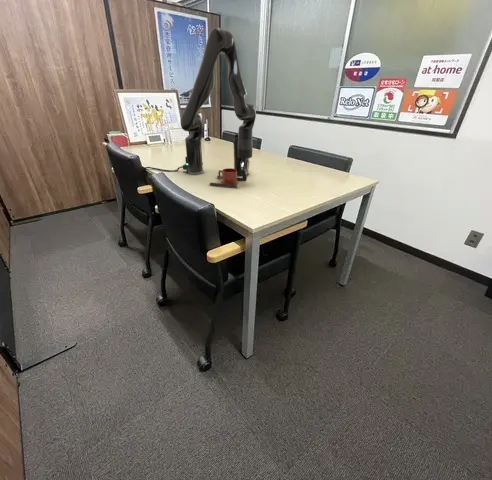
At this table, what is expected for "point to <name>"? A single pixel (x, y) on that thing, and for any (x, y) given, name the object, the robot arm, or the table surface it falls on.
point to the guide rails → (225, 184)
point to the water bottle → (236, 158)
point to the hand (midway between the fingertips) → (244, 180)
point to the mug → (228, 176)
